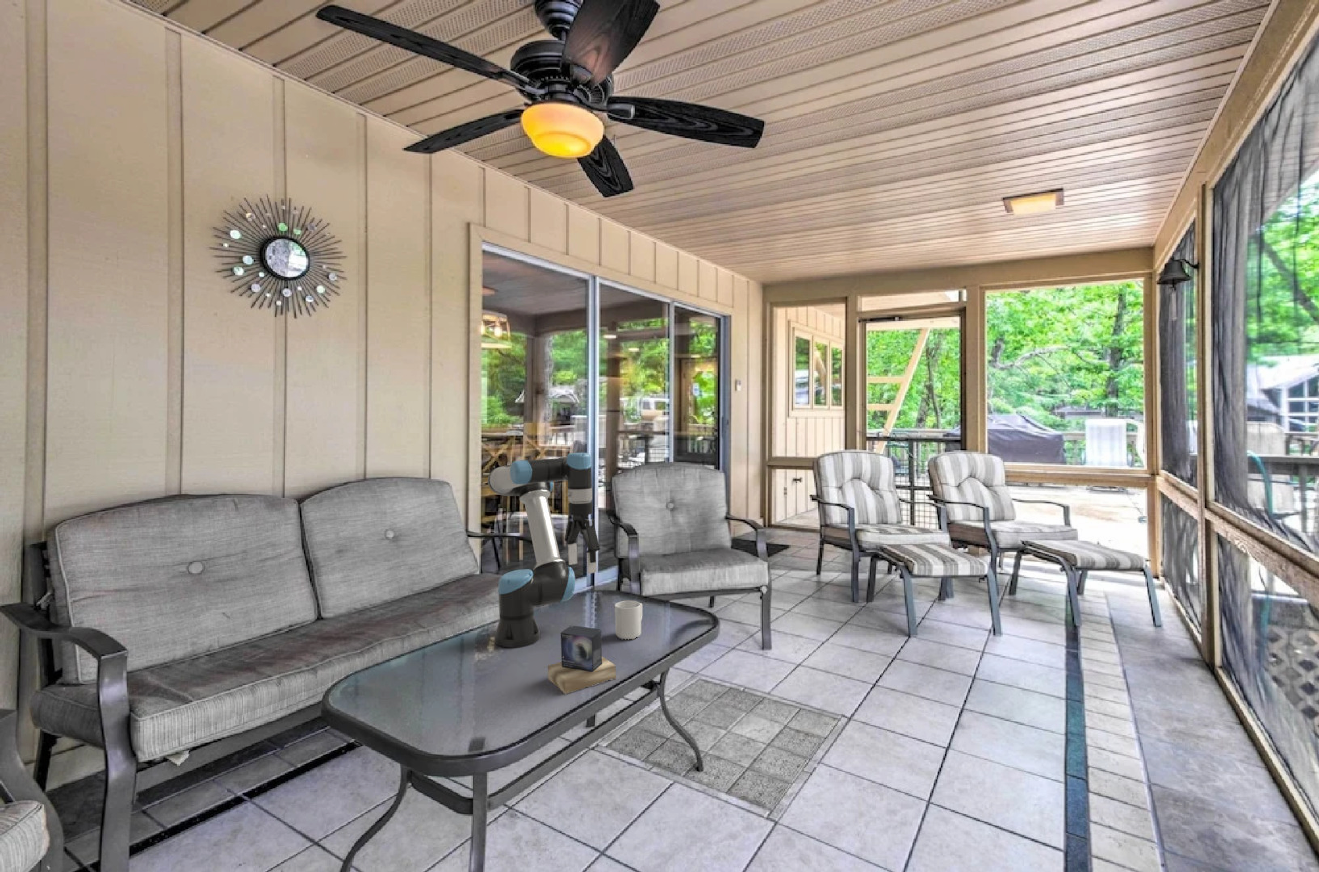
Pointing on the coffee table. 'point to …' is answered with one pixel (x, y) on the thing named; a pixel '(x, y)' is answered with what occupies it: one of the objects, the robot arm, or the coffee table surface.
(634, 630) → the mug
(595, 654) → the small box
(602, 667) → the wooden block
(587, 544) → the robot arm
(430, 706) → the coffee table surface
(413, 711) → the coffee table surface
